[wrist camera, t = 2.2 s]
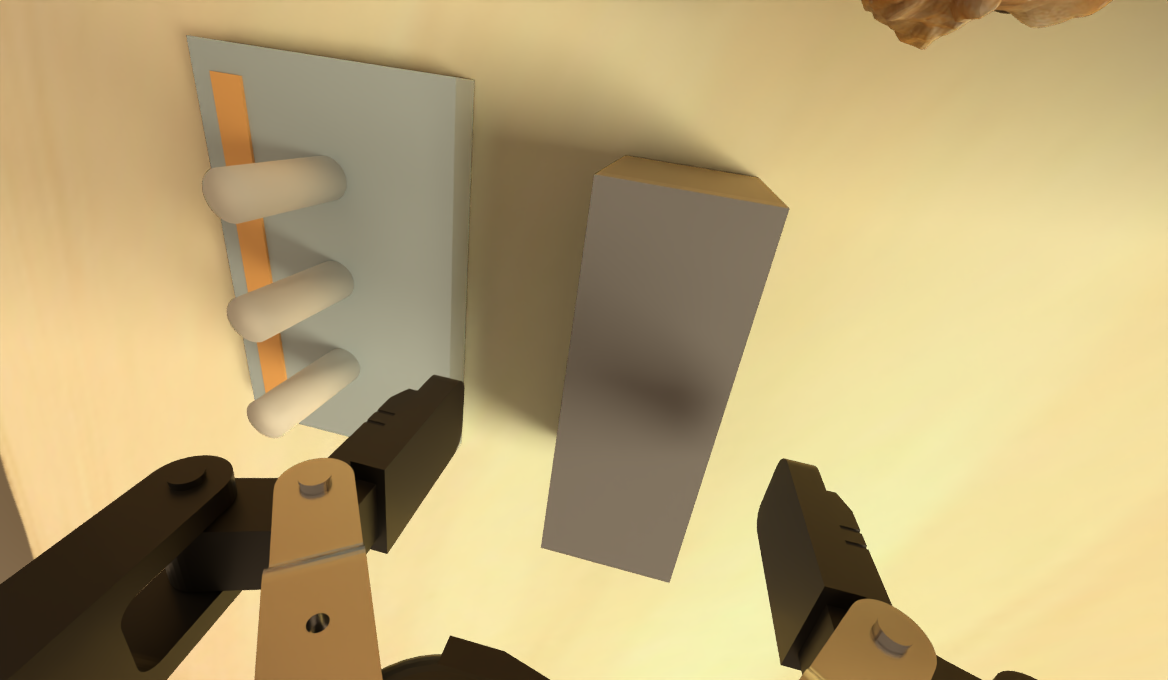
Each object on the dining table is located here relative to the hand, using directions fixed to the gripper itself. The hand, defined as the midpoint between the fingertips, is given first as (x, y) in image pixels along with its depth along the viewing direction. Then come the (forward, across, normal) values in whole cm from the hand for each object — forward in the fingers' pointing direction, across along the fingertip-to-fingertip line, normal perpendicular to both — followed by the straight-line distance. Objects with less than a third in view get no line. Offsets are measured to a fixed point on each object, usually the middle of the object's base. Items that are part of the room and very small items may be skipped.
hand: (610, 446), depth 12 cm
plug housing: (+8, -1, 0) cm, 8 cm away
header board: (+8, +12, 0) cm, 15 cm away
